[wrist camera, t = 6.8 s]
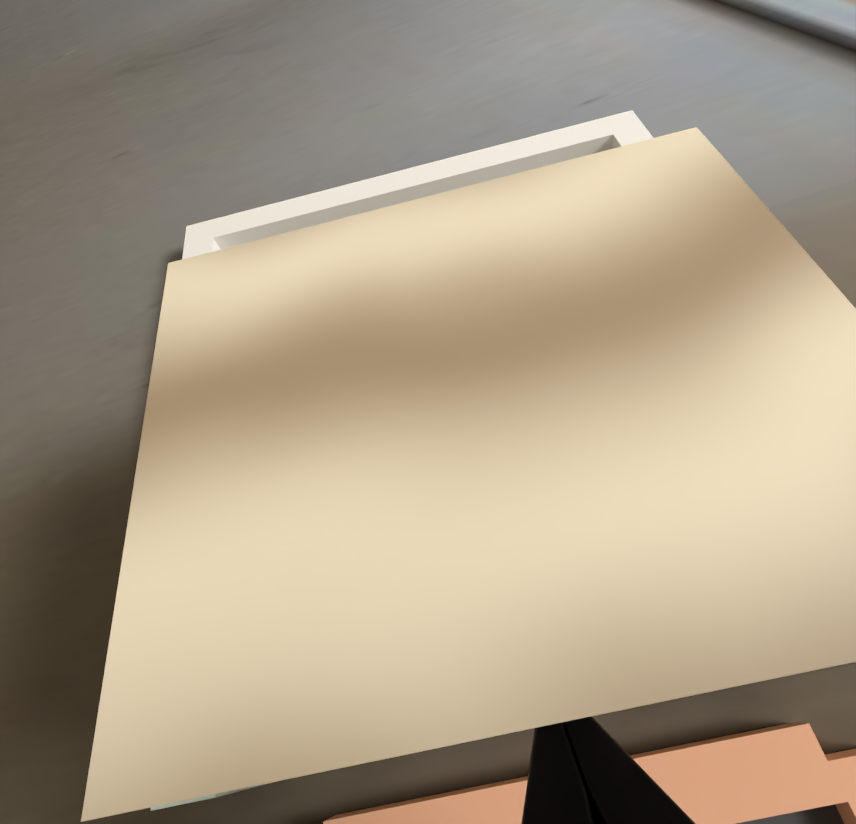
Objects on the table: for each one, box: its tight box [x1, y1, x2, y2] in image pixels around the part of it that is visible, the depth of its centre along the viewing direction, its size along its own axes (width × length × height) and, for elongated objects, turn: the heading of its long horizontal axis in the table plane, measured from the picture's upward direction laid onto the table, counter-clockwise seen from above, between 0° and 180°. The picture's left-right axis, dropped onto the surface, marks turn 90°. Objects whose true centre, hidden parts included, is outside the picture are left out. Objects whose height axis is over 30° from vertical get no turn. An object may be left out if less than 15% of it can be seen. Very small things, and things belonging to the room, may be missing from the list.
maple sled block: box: [81, 127, 856, 822], centre depth 12 cm, size 10×12×9 cm
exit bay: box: [182, 110, 653, 259], centre depth 22 cm, size 14×23×2 cm, turn 100°
